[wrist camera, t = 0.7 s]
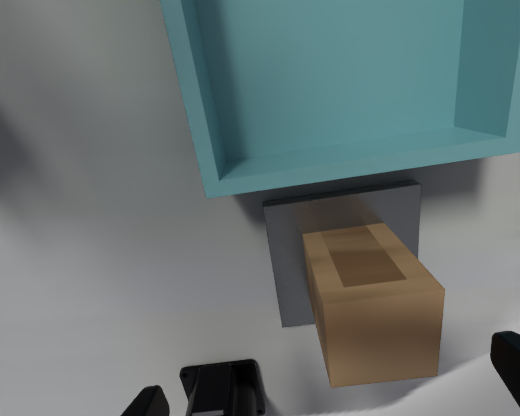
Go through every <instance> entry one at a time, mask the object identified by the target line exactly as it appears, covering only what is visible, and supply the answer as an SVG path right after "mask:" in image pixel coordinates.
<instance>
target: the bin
mask: <svg viewBox="0 0 520 416" xmlns="http://www.w3.org/2000/svg"><path fill="white" fill-rule="evenodd" d="M160 4H161V8H162V12H163V16H164V21H165V25H166V29H167V33H168V38H169V42H170V46H171V50H172V55H173V59H174V63H175V67H176V72H177V76H178V80H179V84H180V89H181V93H182V97H183V101H184V106H185V110H186V114H187V118H188V123H189V127H190V131H191V135H192V140H193V144H194V148H195V152H196V157H197V161H198V165H199V169H200V174H201V178H202V182H203V186H204V191H205V195H206V199H207V198H214V197H221V196H228V195H234V194H241V193H248V192H255V191H261V190H268V189H275V188H282V187H288V186H295V185H302V184H309V183H315V182H322V181H329V180H336V179H342V178H349V177H356V176H363V175H369V174H376V173H383V172H390V171H396V170H403V169H410V168H417V167H423V166H430V165H437V164H444V163H450V162H457V161H464V160H471V159H477V158H484V157H491V156H498V155H504V154H511V153H518V152H520V0H160Z"/></svg>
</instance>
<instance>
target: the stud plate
mask: <svg viewBox="0 0 520 416" xmlns="http://www.w3.org/2000/svg"><path fill="white" fill-rule="evenodd" d="M420 201H421V184H420V183H418V182H416V181H415V180H409V181H402V182H396V183H389V184H382V185H375V186H368V187H361V188H355V189H348V190H341V191H334V192H327V193H320V194H314V195H307V196H300V197H293V198H286V199H279V200H273V201H266V202H263V211H264V217H265V223H266V230H267V236H268V242H269V248H270V254H271V260H272V266H273V273H274V279H275V285H276V291H277V297H278V303H279V310H280V316H281V322H282V327H290V326H298V325H306V324H314V323H315V319H314V315H313V311H312V307H311V303H310V298H309V289H308V280H307V272H306V263H305V254H304V245H303V237H302V234H307V233H314V232H322V231H329V230H336V229H343V228H350V227H357V226H365V225H372V224H379V223H385V224H386V225H387V226H388V228H389V229H390V230H391V231H392V232H393V233H394V234H395V235H396V236H397V237H398V238H399V240H400V241H401V242H402V243H403V244H404V245H405V246H406V247H407V248H408V249H409V250H410V252H411V253H412V254H413V255H414V256H415V257H416V258H417V259H418V243H419V222H420Z"/></svg>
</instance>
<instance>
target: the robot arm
mask: <svg viewBox="0 0 520 416" xmlns="http://www.w3.org/2000/svg"><path fill="white" fill-rule="evenodd" d="M490 357H491V361H492V364H493V366H494V368H495V369H496V371H497V372H498V374H499V375H500V377H501V379H502V380H503V382H504V383H505V385H506V386H507V388H508V390H509V391H510V393H511V394H512V396H513V398H514V399H515V401H516V402H517V404H518V405H519V407H520V335H519V334H517V333H515V332H513V331H503V332H497V333H494V334H493V336H492V343H491V353H490ZM180 379H181V381H182V384H183V387H184V390H185V393H186V396H187V398H188V401H189V402H188V407H187V411H186V416H260V415H263V414H265V404H264V399H263V394H262V390H261V385H260V381H259V376H258V371H257V367H256V363H255V361H254V360H240V361H232V362H224V363H215V364H207V365H199V366H190V367H184V368H182V369H181V371H180ZM169 413H170V410H169V404H168V402H167V399H166V397H165V395H164V392H163V390H162V388H161V387H160V386H159V385H155V386H148V387H145V388H144V389H143V390H142V391H141V392H140V393H139V394H138V396H137V397H136V398H135V399H134V400H133V401H132V403H131V404H130V405H129V406H128V407H127V409H126V410H125V411H124V412H123V413H122V415H121V416H169Z"/></svg>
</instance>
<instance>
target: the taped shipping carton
mask: <svg viewBox="0 0 520 416" xmlns="http://www.w3.org/2000/svg"><path fill="white" fill-rule="evenodd" d="M302 237H303V245H304V254H305V263H306V272H307V280H308V289H309V298H310V303H311V307H312V311H313V315H314V319H315V324H316V328H317V332H318V336H319V340H320V344H321V349H322V353H323V357H324V361H325V365H326V369H327V373H328V378H329V382H330V386H331V388H334V387H343V386H352V385H361V384H370V383H379V382H388V381H396V380H405V379H414V378H423V377H432V376H437V372H438V362H439V351H440V340H441V329H442V318H443V307H444V296H445V289H444V288H443V286H442V285H441V284H440V283H439V282H438V281H437V280H436V279H435V278H434V277H433V276H432V274H431V273H430V272H429V271H428V270H427V269H426V268H425V267H424V266H423V265H422V264H421V262H420V261H419V260H418V259H417V258H416V257H415V256H414V255H413V254H412V253H411V252H410V250H409V249H408V248H407V247H406V246H405V245H404V244H403V243H402V242H401V241H400V240H399V238H398V237H397V236H396V235H395V234H394V233H393V232H392V231H391V230H390V229H389V228H388V226H387V225H386V224H385V223H379V224H372V225H365V226H357V227H350V228H343V229H336V230H329V231H322V232H314V233H307V234H302Z"/></svg>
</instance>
